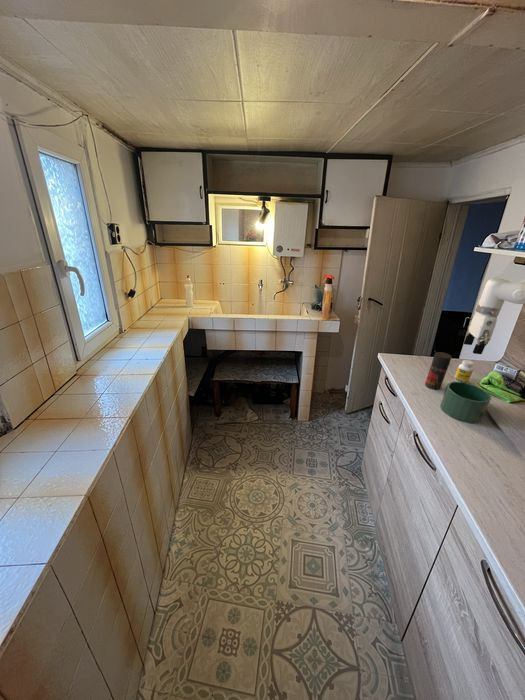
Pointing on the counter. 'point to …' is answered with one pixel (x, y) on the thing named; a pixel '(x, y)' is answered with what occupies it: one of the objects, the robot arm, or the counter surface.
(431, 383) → the deodorant
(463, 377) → the supplement bottle
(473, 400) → the crock
